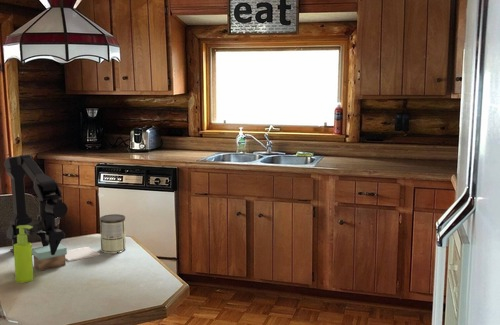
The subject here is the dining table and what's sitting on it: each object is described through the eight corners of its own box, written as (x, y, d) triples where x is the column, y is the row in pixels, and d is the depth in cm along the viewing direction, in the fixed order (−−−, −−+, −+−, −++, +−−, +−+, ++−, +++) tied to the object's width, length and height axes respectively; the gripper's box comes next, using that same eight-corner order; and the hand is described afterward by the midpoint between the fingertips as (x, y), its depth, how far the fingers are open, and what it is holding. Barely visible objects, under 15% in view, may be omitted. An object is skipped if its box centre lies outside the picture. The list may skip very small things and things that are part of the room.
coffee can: (96, 249, 234) (95, 216, 232) (119, 244, 240) (118, 212, 238) (107, 255, 226) (106, 221, 224) (130, 250, 233) (129, 217, 230)
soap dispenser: (30, 283, 195) (27, 228, 192) (12, 282, 196) (9, 227, 193) (39, 277, 201) (36, 224, 198) (21, 276, 202) (18, 223, 199)
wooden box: (39, 270, 208) (38, 257, 207) (34, 266, 212) (33, 253, 212) (65, 265, 214) (65, 252, 213) (59, 261, 219) (59, 248, 218)
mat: (57, 253, 227) (57, 252, 227) (87, 247, 235) (87, 246, 235) (68, 261, 218) (68, 260, 218) (99, 255, 226) (99, 253, 226)
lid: (38, 260, 206) (38, 253, 206) (31, 255, 212) (31, 248, 211) (66, 254, 213) (66, 247, 213) (59, 249, 219) (59, 243, 218)
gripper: (17, 211, 212) (19, 250, 214) (34, 221, 198) (36, 263, 200) (46, 206, 219) (48, 245, 221) (64, 216, 205) (66, 257, 207)
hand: (49, 252), depth 212 cm, fingers closed on lid, 7 cm apart
